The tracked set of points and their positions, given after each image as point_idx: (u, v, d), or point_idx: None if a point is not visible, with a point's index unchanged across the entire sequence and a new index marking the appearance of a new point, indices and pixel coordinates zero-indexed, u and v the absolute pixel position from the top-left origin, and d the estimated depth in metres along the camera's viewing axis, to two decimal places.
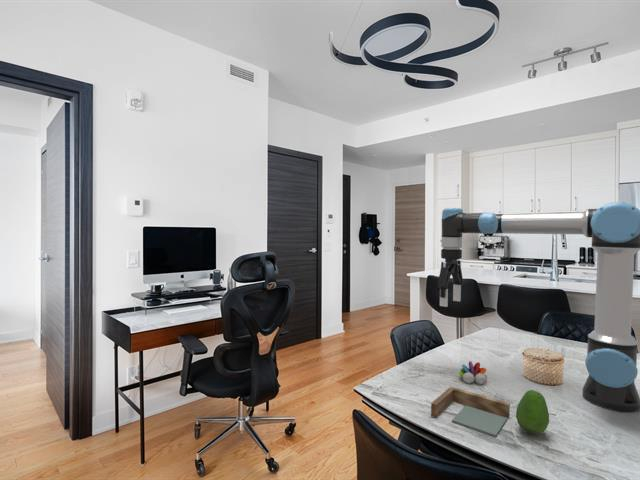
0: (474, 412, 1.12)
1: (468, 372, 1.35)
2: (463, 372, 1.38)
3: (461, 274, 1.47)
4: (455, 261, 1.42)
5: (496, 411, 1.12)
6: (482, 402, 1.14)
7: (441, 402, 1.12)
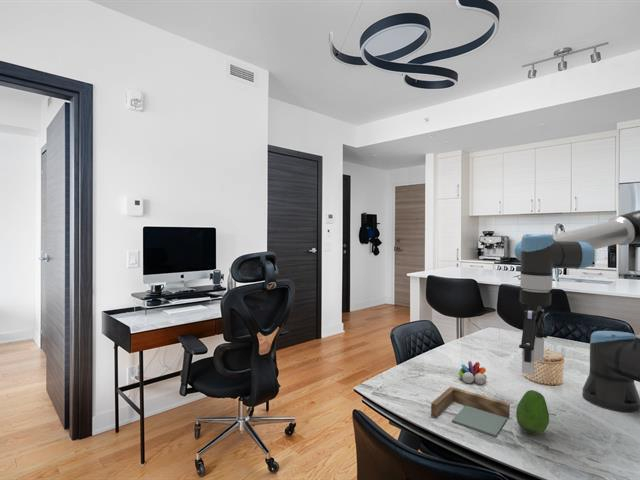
0: (474, 412, 1.12)
1: (468, 372, 1.35)
2: (463, 372, 1.38)
3: (544, 323, 1.07)
4: (540, 307, 1.02)
5: (496, 411, 1.12)
6: (482, 402, 1.14)
7: (441, 402, 1.12)
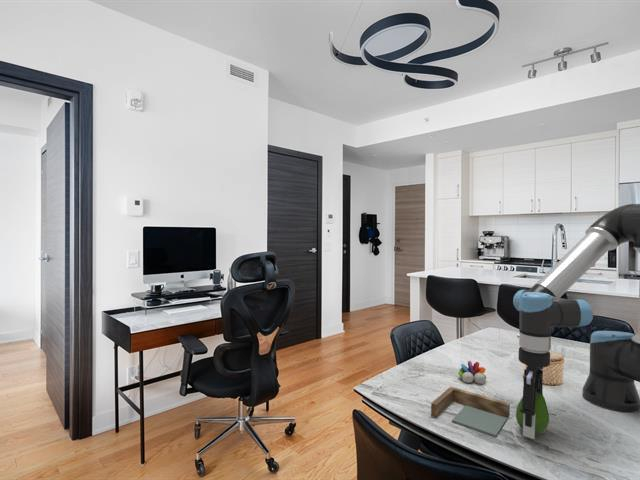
0: (474, 412, 1.12)
1: (467, 372, 1.36)
2: (462, 372, 1.38)
3: (542, 385, 1.06)
4: None
5: (496, 411, 1.12)
6: (482, 402, 1.14)
7: (441, 402, 1.12)
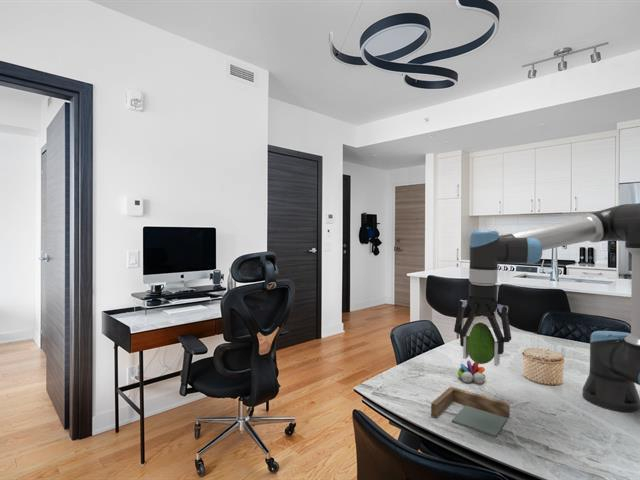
0: (474, 412, 1.12)
1: (466, 371, 1.36)
2: (461, 371, 1.39)
3: (505, 328, 1.02)
4: (487, 300, 1.05)
5: (496, 411, 1.12)
6: (482, 402, 1.14)
7: (441, 402, 1.12)
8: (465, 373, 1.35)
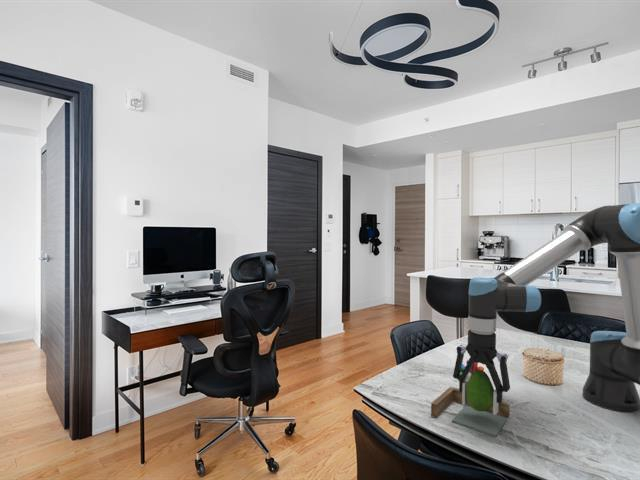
0: (474, 412, 1.12)
1: None
2: (461, 371, 1.39)
3: (504, 378, 1.03)
4: (486, 348, 1.06)
5: None
6: None
7: (441, 402, 1.12)
8: None
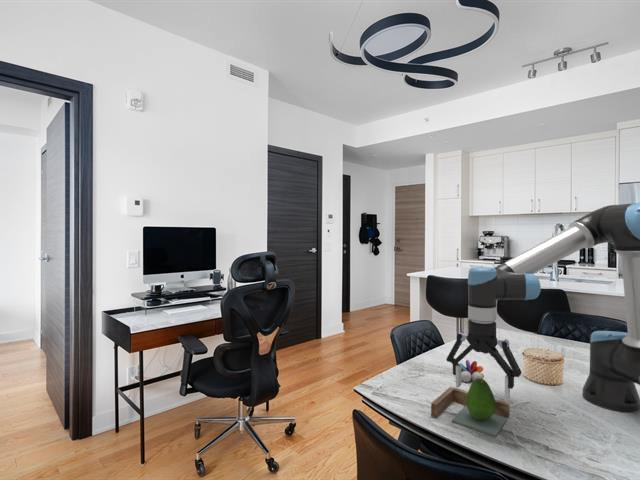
0: None
1: (465, 371, 1.37)
2: None
3: (511, 363, 1.01)
4: (486, 339, 1.06)
5: (496, 411, 1.12)
6: None
7: (441, 402, 1.12)
8: (464, 372, 1.36)
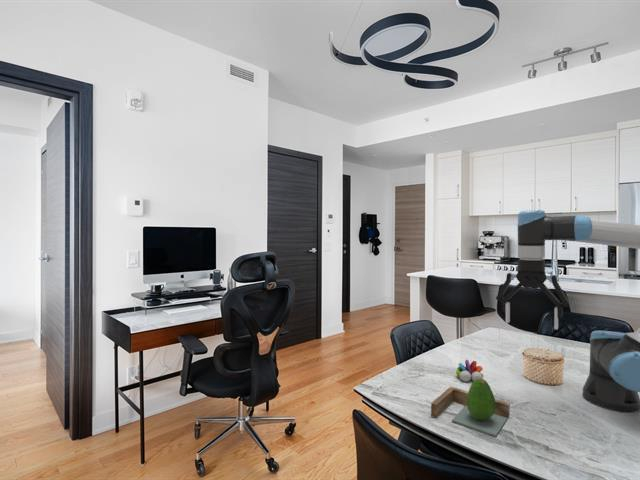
0: None
1: (465, 370, 1.37)
2: (460, 370, 1.39)
3: (561, 295, 1.11)
4: (535, 275, 1.15)
5: (496, 411, 1.12)
6: None
7: (441, 402, 1.12)
8: (463, 372, 1.36)
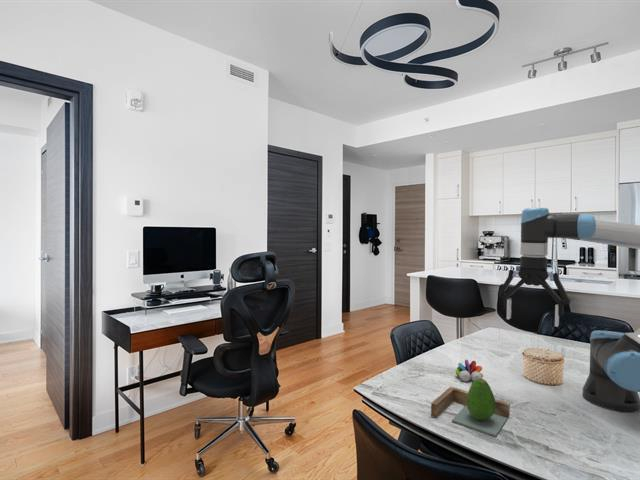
0: None
1: (464, 370, 1.37)
2: (459, 370, 1.40)
3: (562, 292, 1.12)
4: (537, 272, 1.16)
5: (496, 411, 1.12)
6: None
7: (441, 402, 1.12)
8: (463, 372, 1.36)
